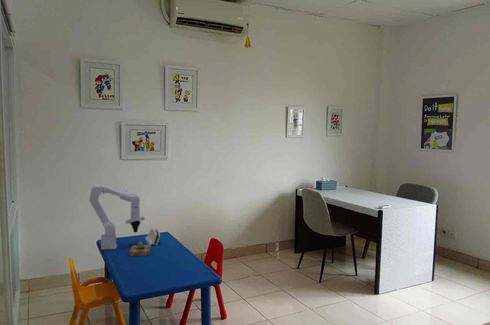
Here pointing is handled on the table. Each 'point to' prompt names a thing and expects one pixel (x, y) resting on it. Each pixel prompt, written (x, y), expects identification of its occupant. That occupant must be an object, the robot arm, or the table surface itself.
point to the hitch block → (140, 251)
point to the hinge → (153, 237)
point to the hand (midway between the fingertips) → (135, 232)
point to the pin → (140, 245)
